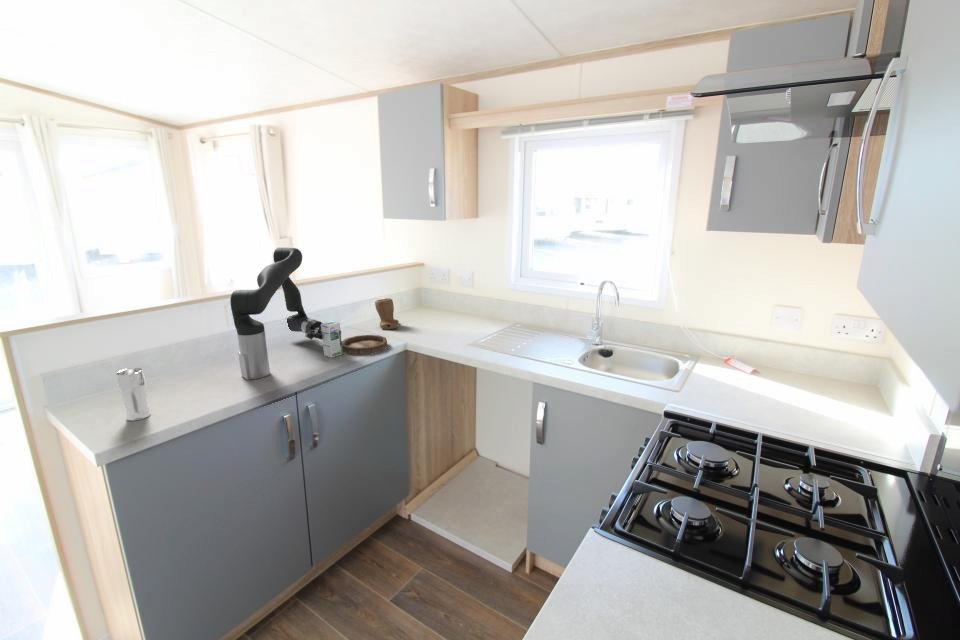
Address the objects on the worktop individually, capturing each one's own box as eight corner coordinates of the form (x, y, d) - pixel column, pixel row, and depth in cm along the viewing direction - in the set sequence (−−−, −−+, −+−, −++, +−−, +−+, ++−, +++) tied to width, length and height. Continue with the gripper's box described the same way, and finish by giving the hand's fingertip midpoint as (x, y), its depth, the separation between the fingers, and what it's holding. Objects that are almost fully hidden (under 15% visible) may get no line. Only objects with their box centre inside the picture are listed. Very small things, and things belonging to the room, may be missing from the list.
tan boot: (377, 323, 247) (375, 296, 244) (399, 322, 249) (398, 295, 245) (375, 331, 233) (373, 302, 229) (398, 330, 235) (397, 301, 231)
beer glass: (119, 419, 140) (109, 373, 136) (142, 410, 146) (133, 366, 142) (134, 423, 137) (124, 377, 133) (157, 413, 143) (148, 369, 140)
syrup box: (331, 358, 193) (328, 325, 189) (323, 355, 196) (320, 323, 193) (343, 354, 197) (340, 322, 194) (334, 352, 201) (331, 320, 197)
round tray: (357, 358, 193) (356, 351, 192) (333, 347, 206) (332, 341, 206) (395, 347, 207) (395, 341, 206) (371, 338, 220) (370, 332, 220)
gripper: (296, 323, 200) (314, 330, 189) (326, 317, 210) (345, 323, 199) (298, 339, 202) (316, 347, 191) (328, 332, 212) (346, 339, 201)
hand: (331, 335), depth 195 cm, fingers open, 8 cm apart
